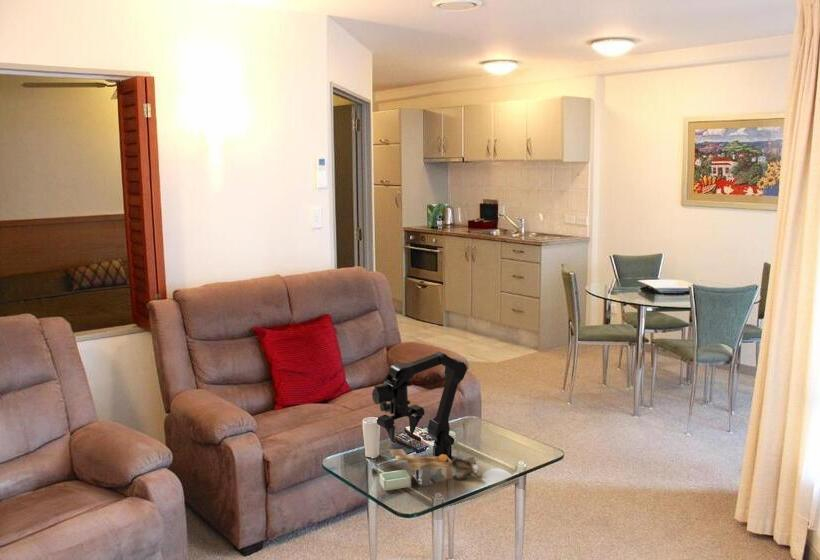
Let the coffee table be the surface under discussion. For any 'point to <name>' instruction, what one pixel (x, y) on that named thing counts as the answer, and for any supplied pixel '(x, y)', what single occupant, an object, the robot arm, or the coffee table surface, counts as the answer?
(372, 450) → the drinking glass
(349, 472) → the coffee table surface
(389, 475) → the mint cubby shelf
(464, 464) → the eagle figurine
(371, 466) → the coffee table surface
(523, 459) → the coffee table surface
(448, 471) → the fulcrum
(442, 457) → the ball
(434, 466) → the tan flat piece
